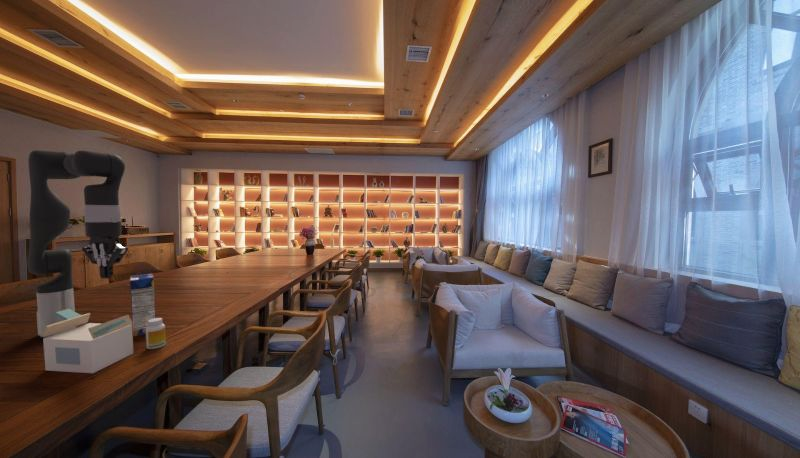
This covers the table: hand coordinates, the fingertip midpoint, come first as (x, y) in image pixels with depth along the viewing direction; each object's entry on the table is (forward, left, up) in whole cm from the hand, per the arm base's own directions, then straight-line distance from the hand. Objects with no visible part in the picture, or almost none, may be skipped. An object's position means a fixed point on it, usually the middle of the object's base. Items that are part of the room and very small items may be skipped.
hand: (107, 277), depth 86 cm
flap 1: (-19, +3, -17) cm, 26 cm away
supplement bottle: (-1, +15, -29) cm, 33 cm away
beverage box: (-19, +27, -29) cm, 44 cm away
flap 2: (-4, +4, -17) cm, 18 cm away
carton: (-12, +3, -29) cm, 31 cm away
